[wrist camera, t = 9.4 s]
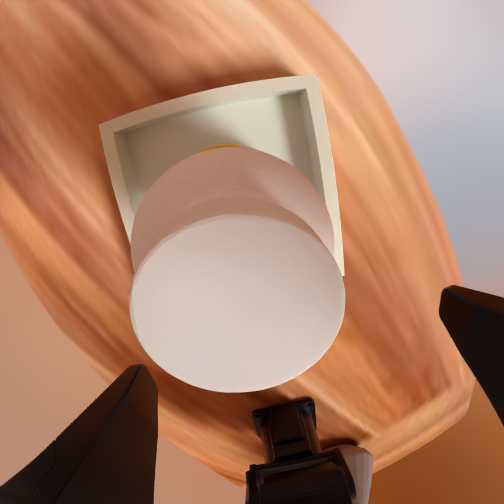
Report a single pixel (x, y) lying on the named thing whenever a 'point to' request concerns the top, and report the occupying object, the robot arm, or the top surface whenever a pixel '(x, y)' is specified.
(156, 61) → the top surface
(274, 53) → the top surface
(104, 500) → the robot arm
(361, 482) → the coffee pot
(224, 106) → the tray
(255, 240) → the supplement bottle
